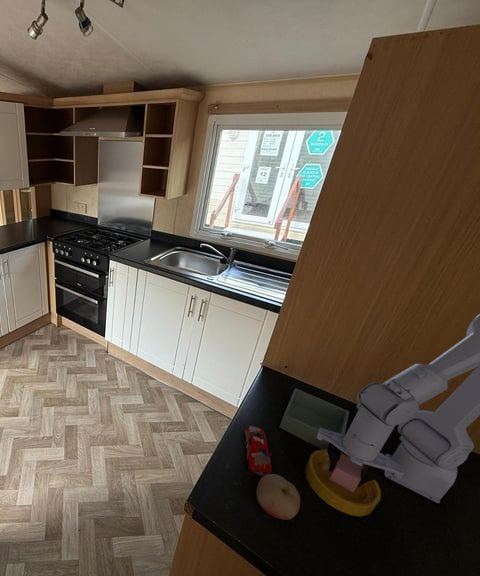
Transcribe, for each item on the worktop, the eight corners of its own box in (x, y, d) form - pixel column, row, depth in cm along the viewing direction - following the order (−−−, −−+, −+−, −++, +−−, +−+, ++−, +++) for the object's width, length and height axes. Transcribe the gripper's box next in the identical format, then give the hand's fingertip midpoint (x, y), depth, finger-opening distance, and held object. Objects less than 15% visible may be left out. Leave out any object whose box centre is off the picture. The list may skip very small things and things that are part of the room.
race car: (271, 481, 74) (275, 471, 72) (246, 474, 75) (250, 463, 74) (264, 435, 85) (268, 425, 83) (242, 430, 86) (246, 420, 85)
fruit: (286, 536, 64) (297, 514, 60) (247, 506, 69) (255, 484, 65) (298, 508, 68) (310, 485, 65) (261, 481, 74) (269, 459, 70)
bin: (342, 425, 88) (349, 411, 86) (335, 457, 79) (343, 443, 77) (290, 401, 96) (295, 388, 93) (278, 428, 87) (284, 414, 85)
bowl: (375, 484, 73) (382, 473, 71) (371, 532, 64) (379, 521, 63) (310, 450, 81) (315, 439, 79) (299, 488, 72) (304, 477, 70)
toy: (355, 477, 72) (362, 465, 70) (353, 492, 69) (360, 480, 67) (332, 465, 74) (338, 453, 72) (329, 479, 71) (335, 467, 69)
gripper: (322, 427, 67) (303, 467, 73) (414, 470, 58) (384, 512, 64) (327, 407, 71) (309, 447, 77) (413, 445, 63) (385, 486, 69)
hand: (343, 475), depth 71 cm, fingers closed on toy, 4 cm apart
